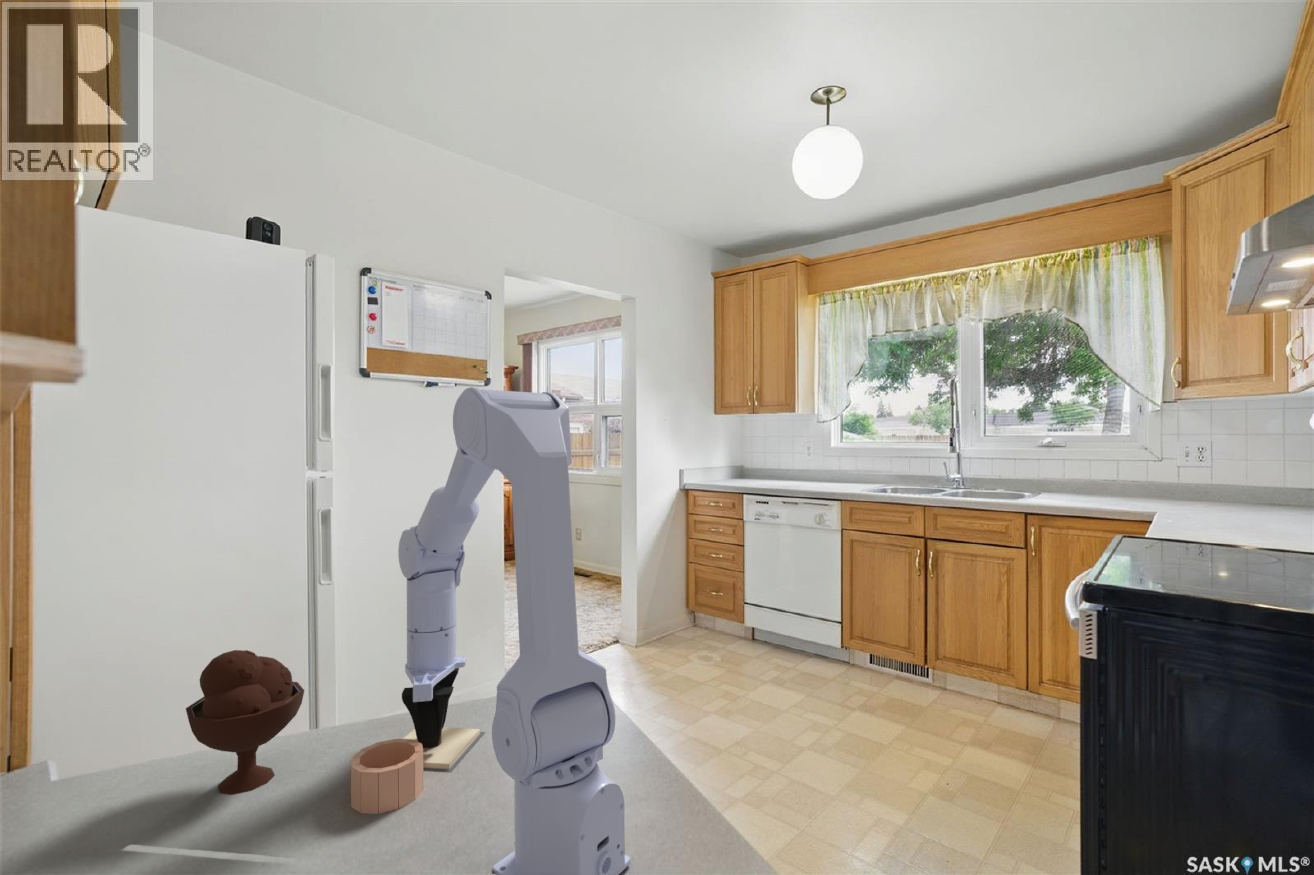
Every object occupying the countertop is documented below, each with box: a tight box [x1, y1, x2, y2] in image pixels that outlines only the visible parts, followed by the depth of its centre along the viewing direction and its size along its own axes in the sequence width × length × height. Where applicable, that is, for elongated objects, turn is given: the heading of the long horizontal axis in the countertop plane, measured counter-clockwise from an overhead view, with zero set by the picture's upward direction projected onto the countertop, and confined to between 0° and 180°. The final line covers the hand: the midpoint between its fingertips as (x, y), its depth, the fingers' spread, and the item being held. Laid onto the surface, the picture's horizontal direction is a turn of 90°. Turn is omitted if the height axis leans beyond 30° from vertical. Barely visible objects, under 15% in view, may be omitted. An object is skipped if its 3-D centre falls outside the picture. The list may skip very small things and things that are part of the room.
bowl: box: [350, 738, 424, 815], centre depth 65 cm, size 7×7×4 cm
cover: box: [402, 726, 481, 769], centre depth 74 cm, size 9×9×4 cm
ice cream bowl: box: [185, 649, 305, 795], centre depth 68 cm, size 11×11×15 cm
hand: (432, 737), depth 74 cm, fingers open, 4 cm apart
